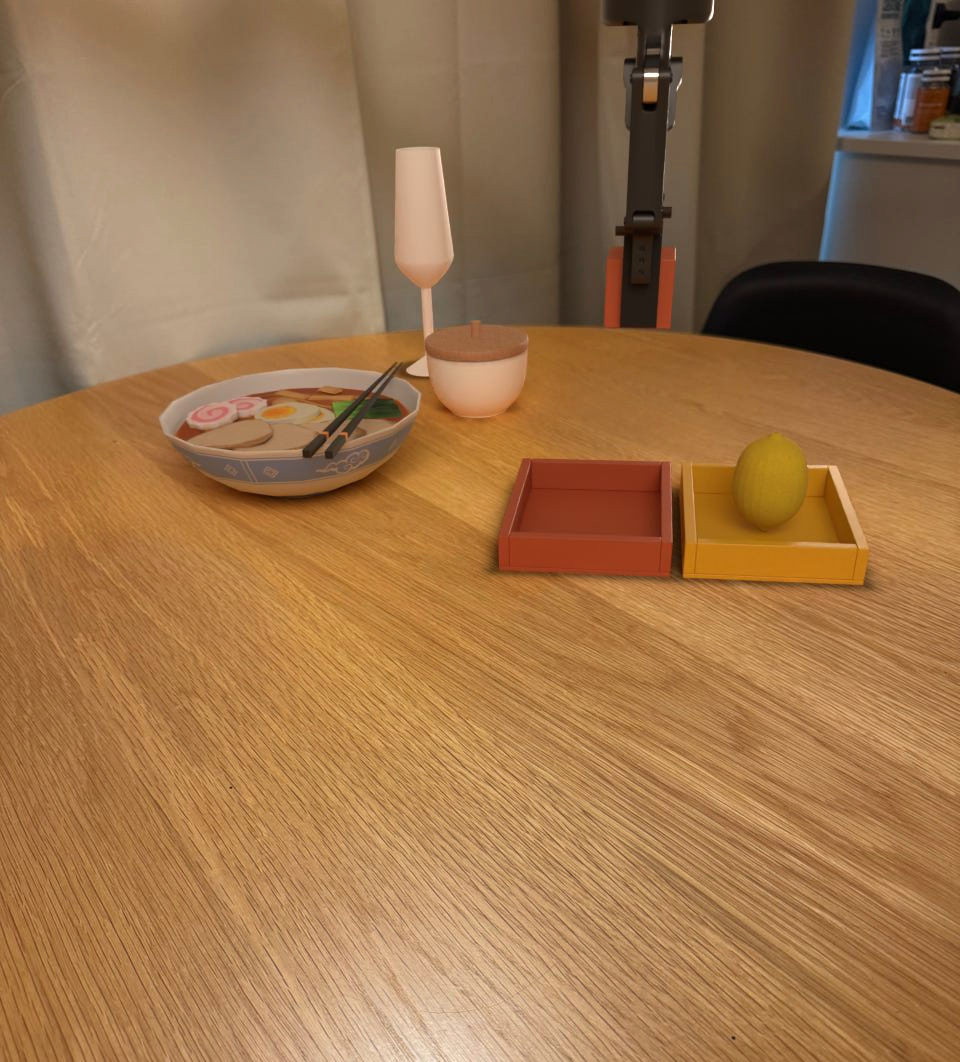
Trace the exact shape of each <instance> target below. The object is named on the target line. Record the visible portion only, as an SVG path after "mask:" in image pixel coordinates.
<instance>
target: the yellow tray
mask: <svg viewBox="0 0 960 1062" xmlns="http://www.w3.org/2000/svg"><path fill="white" fill-rule="evenodd" d="M736 464H737V462H699V461H692V462H691V461H682V462H681V466H680V467H681V468H680V478H679V479H680V480H679V516H680V517H679V518H680V541H681V542H680V543H681V569H682V578H685V579H686V578H687V579H708V580H709V579H710V580H731V581H732V580H735V581H759V582H780V583H781V582H785V583H805V584H806V583H807V584H831V585H832V584H833V585H857V586H864V583H865V579H866V572H867V567H868V562H869V556H870V550H871V548H870V546H869V543H868V541H867V539H866V536H865V533H864V531H863V528H862V526H861V524H860V523H861V522H860V521H859V518H858V515H857V513H856V511H855V508H854V506H853V502H852V500H851V497H850V496H849V493H848V490H847V488H846V486H845V482H844V480H843V477H842V475H841V472H840V470H839V467H838V466H837V465H830V464H829V465H828V464H827V465H825V464H824V465H822V464H820V465H819V464H807V467H808V487H807V492H806V495H805V499H804V501H803V504H802V506H801V508H800V509H799V511H798V512H797V513H796V514H795V515H794V516H793V517H792V518H791V519H790V520H788V521H787V522H785V523H783V524H781V525H777V526H773V527H772V528H771V529H769V530H768V531H761V530H760V529H759V528H758V527H757V526H756V525H755V524H752V523H750V522H749V521H747V520H746V519H745V518H743V516H742V515H741V514H740V513H739V512H738V510H737V508H736V506H735V503H734V500H733V494H732V482H733V475H734V471H735V467H736Z"/></svg>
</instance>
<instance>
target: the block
mask: <svg viewBox="0 0 960 1062" xmlns="http://www.w3.org/2000/svg"><path fill="white" fill-rule="evenodd" d="M623 249H624V246H619V245H618V246H615V245H613V246H612V245H611V246H610V247H609V251H608V254H607V257H606V267H605V288H604V289H605V294H604V313H603V314H604V316H603V328H604V329H606V328H607V329H633V328H632V327H620V315H621V293H622V271H623ZM676 252H677V247H675V246H662V247H661V262H660V278H659V293H658V309H657V324H656V328H642V329H646V330H647V329H649V330H651V329H652V330H671V327H672V325H671V324H672V314H673V313H672V311H673V300H674V286H675V274H676V262H677V261H676V259H677V256H676V255H677V254H676Z"/></svg>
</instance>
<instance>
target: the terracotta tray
mask: <svg viewBox="0 0 960 1062" xmlns="http://www.w3.org/2000/svg"><path fill="white" fill-rule="evenodd" d="M513 484H514V485H513V488H512V491H511V494H510V496H509V500H508V503H507V507H506V509H505V510H506V511H505V513H504V516H503V519H502V522H501V527H500V529H499V531H498V535H497V539H498V540H497V547H498V548H497V549H498V551H497V552H498V570H499V571H516V572H538V573H540V572H542V573H562V574H563V573H564V574H585V575H586V574H588V575H610V576H634V577H635V576H637V577H657V578H658V577H660V578H662V577H663V578H670V577H671V571H672V558H673V557H672V556H673V543H674V542H673V539H674V538H673V499H672V498H673V496H672V462H671V461H660V460H659V461H656V460H655V461H652V460H619V459H618V460H613V459H608V460H607V459H578V458H577V459H576V458H575V459H573V458H539V457H538V458H537V457H536V458H532V457H523V458H522V460H521V463H520V466H519V469H518V472H517V475H516V479H515V482H514V483H513Z"/></svg>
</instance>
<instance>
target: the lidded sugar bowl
mask: <svg viewBox="0 0 960 1062" xmlns="http://www.w3.org/2000/svg"><path fill="white" fill-rule="evenodd" d="M424 343H425V346H424V352H425V351H426V356H427V367H428V373H429V376H428V378H429V382H430V385H431V388H432V390H433V392H434V395H435V396H436V398H437V399H438V400H439V401H440V402H441V404H442V406H444V407H445V408H447V409H448V410H449V411H450V412H451V413H452V414H453V415H455V416H458V417H462V418H468V419H469V418H470V419H481V418H483V419H484V418H491V417H495V416H499V415H501V414H503V413H505V412H507V410H508V408H510V407H511V406H512V405H513V404H514V403H515V402H516V400H517V399H518V398H519V396H520V394H521V393H522V390H523V388H524V385H525V382H526V378H527V371H528V357H529V356H528V348H529V344H530V343H529V335H528V334H527V333H526V332H525V331H523V330H522V329H519V328H516V327H512V326H507V325H499V324H482V321H481V320H479V319H473V320H471V321H470V324H464V325H458V326H451V327H447V328H443V329H439V330H437V331H434V333H432V334H430V335H429V336H427V337H426V339H425V342H424V341H423V344H424Z"/></svg>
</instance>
